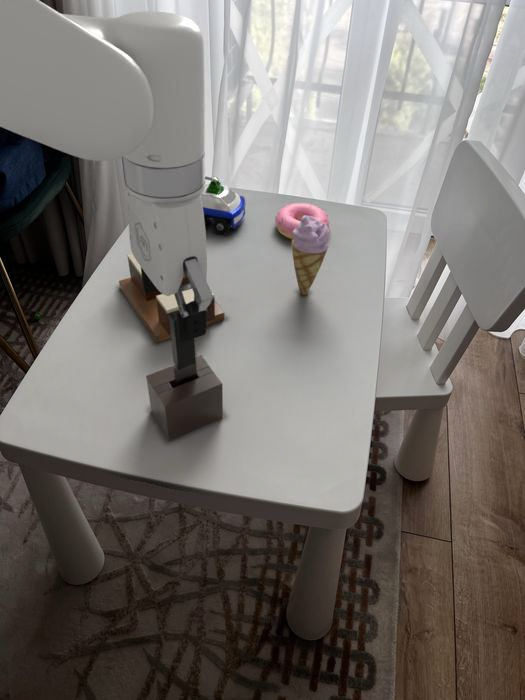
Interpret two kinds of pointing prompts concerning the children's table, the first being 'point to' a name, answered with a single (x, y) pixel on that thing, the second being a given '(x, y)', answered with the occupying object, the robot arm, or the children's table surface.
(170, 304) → the cake slice
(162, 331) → the cutting board
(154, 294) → the cake
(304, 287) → the ice cream cone
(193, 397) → the knife block
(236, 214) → the toy car
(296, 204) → the doughnut
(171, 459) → the children's table surface
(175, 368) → the knife
